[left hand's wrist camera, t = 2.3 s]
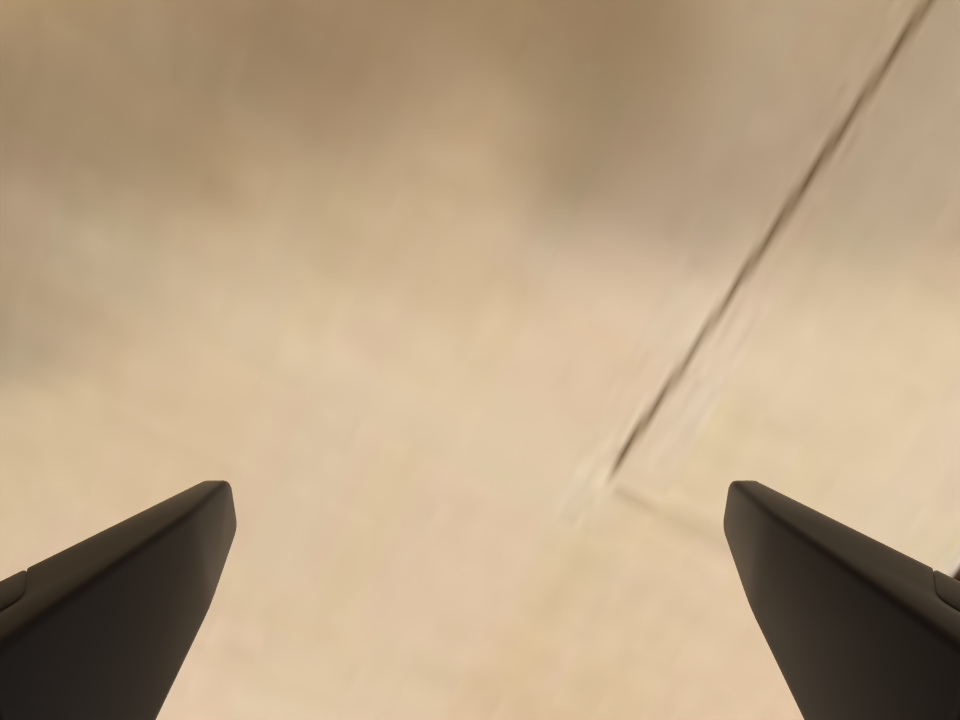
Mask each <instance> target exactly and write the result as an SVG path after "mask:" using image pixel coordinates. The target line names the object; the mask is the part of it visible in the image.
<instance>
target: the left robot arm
mask: <svg viewBox="0 0 960 720" xmlns="http://www.w3.org/2000/svg"><path fill="white" fill-rule="evenodd" d="M235 532H236V515H235V509H234V502H233V495H232V489H231V486H230V484H229V483H228V482H227V481H204V482H202V483H200V484H197V485H195V486H193V487H191V488H189V489H187V490H185V491H183V492H181V493H179V494H177V495H175V496H173V497H171V498H169V499H167V500H165V501H163V502H161V503H159V504H157V505H155V506H153V507H151V508H149V509H147V510H145V511H143V512H141V513H139V514H137V515H135V516H133V517H131V518H129V519H126V520H124V521H122V522H120V523H118V524H116V525H114V526H112V527H110V528H108V529H106V530H104V531H102V532H100V533H98V534H96V535H94V536H92V537H90V538H88V539H86V540H84V541H82V542H80V543H78V544H76V545H74V546H72V547H70V548H68V549H66V550H64V551H62V552H60V553H58V554H55V555H53V556H51V557H49V558H47V559H45V560H43V561H41V562H39V563H37V564H35V565H33V566H31V567H29V568H28V569H27V572H26V571H21V572H19V573H17V574H15V575H13V576H11V577H9V578H7V579H5V580H3V581H0V720H156V718H157V716H158V713H159V711H160V709H161V707H162V705H163V703H164V701H165V699H166V697H167V695H168V693H169V691H170V689H171V686H172V684H173V682H174V680H175V678H176V676H177V674H178V672H179V670H180V668H181V666H182V664H183V662H184V659H185V657H186V655H187V653H188V651H189V649H190V647H191V645H192V643H193V641H194V639H195V637H196V635H197V632H198V630H199V628H200V626H201V624H202V622H203V620H204V618H205V616H206V613H207V611H208V609H209V607H210V604H211V602H212V599H213V596H214V594H215V591H216V588H217V585H218V582H219V579H220V576H221V573H222V570H223V567H224V565H225V562H226V559H227V556H228V553H229V550H230V547H231V544H232V541H233V538H234V535H235ZM724 532H725V535H726V538H727V541H728V544H729V547H730V550H731V553H732V556H733V559H734V562H735V565H736V567H737V570H738V573H739V576H740V579H741V582H742V585H743V588H744V591H745V594H746V596H747V599H748V602H749V604H750V607H751V609H752V611H753V613H754V616H755V618H756V620H757V622H758V624H759V626H760V628H761V630H762V632H763V635H764V637H765V639H766V641H767V643H768V645H769V647H770V649H771V651H772V653H773V655H774V657H775V659H776V662H777V664H778V666H779V668H780V670H781V672H782V674H783V676H784V678H785V680H786V682H787V684H788V686H789V689H790V691H791V693H792V695H793V697H794V699H795V701H796V703H797V705H798V707H799V709H800V711H801V714H802V716H803V718H804V720H960V581H957V580H955V579H953V578H951V577H949V576H947V575H945V574H943V573H941V572H939V571H934V572H933V569H932V568H931V567H929V566H927V565H925V564H923V563H921V562H919V561H917V560H915V559H913V558H911V557H909V556H907V555H905V554H902V553H900V552H898V551H896V550H894V549H892V548H890V547H888V546H886V545H884V544H882V543H880V542H878V541H876V540H874V539H872V538H870V537H868V536H866V535H864V534H862V533H860V532H858V531H856V530H854V529H852V528H850V527H848V526H846V525H844V524H842V523H840V522H838V521H836V520H834V519H831V518H829V517H827V516H825V515H823V514H821V513H819V512H817V511H815V510H813V509H811V508H809V507H807V506H805V505H803V504H801V503H799V502H797V501H795V500H793V499H791V498H789V497H787V496H785V495H783V494H781V493H779V492H777V491H775V490H773V489H771V488H769V487H767V486H765V485H763V484H760V483H758V482H756V481H733V482H732V483H731V484H730V486H729V489H728V495H727V502H726V509H725V515H724Z"/></svg>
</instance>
